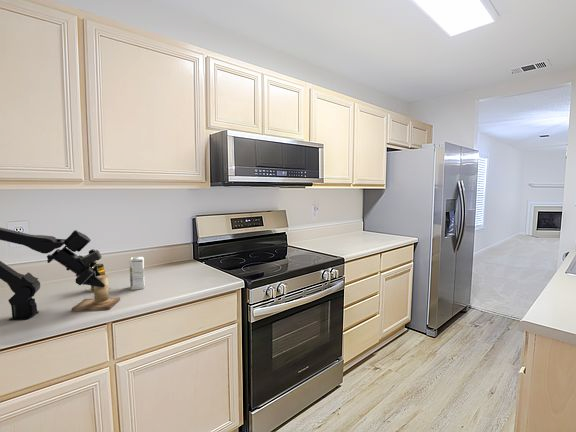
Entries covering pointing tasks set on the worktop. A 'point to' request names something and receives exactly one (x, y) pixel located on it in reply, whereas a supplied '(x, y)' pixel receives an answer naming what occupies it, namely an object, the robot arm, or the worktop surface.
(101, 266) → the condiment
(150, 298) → the worktop surface
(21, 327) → the worktop surface
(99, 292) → the wooden chess pawn
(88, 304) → the walnut board
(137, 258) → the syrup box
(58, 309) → the worktop surface
